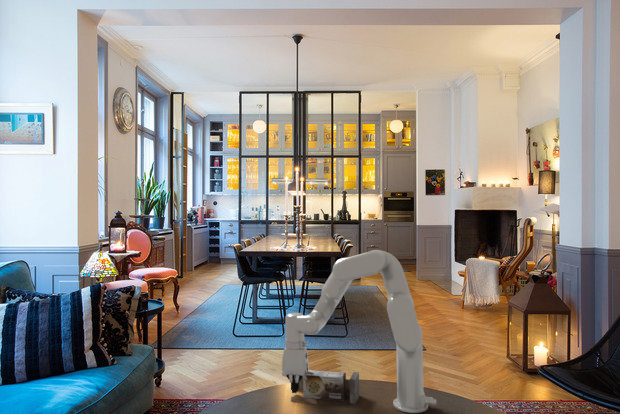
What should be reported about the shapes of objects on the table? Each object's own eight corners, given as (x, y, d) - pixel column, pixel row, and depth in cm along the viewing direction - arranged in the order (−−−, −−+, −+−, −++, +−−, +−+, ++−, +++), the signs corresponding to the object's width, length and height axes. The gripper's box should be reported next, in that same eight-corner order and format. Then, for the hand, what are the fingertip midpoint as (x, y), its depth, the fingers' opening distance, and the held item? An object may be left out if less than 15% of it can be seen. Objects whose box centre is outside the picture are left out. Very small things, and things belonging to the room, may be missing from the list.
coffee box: (306, 392, 168) (346, 395, 165) (302, 398, 162) (344, 402, 159) (306, 369, 169) (346, 372, 166) (303, 374, 163) (344, 377, 159)
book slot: (359, 395, 165) (358, 372, 165) (353, 408, 153) (352, 383, 153) (294, 388, 172) (294, 366, 173) (283, 400, 160) (283, 376, 161)
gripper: (315, 343, 168) (315, 390, 167) (280, 341, 172) (280, 386, 171) (310, 348, 161) (310, 397, 160) (274, 345, 165) (273, 393, 164)
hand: (295, 391), depth 165 cm, fingers closed
